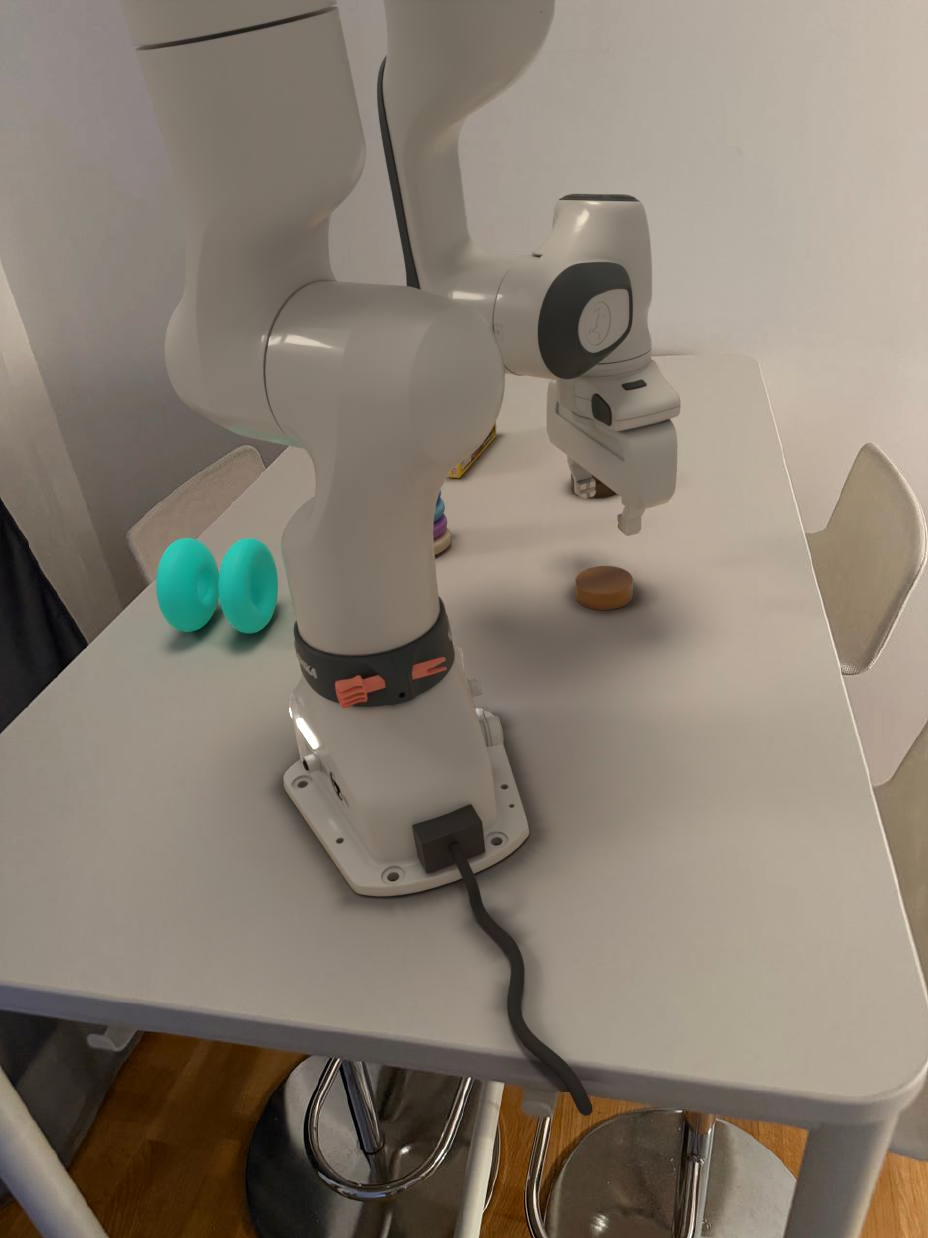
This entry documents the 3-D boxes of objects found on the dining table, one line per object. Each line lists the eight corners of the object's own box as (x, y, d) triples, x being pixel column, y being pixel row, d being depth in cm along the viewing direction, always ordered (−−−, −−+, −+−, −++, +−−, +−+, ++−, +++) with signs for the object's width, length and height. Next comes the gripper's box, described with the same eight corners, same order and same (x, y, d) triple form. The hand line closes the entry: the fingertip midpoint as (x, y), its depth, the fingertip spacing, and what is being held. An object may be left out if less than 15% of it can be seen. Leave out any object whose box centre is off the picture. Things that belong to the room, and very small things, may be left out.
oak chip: (643, 601, 96) (643, 584, 95) (591, 615, 94) (591, 599, 93) (615, 576, 101) (615, 560, 100) (566, 589, 99) (565, 573, 98)
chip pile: (633, 490, 119) (633, 447, 116) (584, 503, 117) (583, 459, 114) (607, 472, 125) (607, 430, 121) (560, 483, 123) (559, 441, 120)
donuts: (255, 652, 94) (234, 567, 89) (167, 649, 96) (140, 566, 91) (288, 601, 102) (270, 521, 97) (206, 600, 104) (184, 521, 99)
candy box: (462, 479, 127) (456, 422, 123) (448, 478, 128) (442, 421, 123) (498, 436, 140) (495, 383, 135) (485, 435, 140) (481, 382, 136)
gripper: (527, 358, 93) (535, 483, 100) (626, 420, 76) (627, 563, 84) (583, 345, 94) (587, 469, 102) (692, 403, 78) (687, 546, 85)
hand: (606, 512), depth 93 cm, fingers open, 8 cm apart
